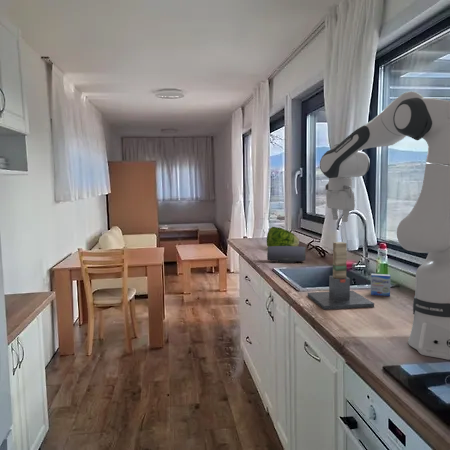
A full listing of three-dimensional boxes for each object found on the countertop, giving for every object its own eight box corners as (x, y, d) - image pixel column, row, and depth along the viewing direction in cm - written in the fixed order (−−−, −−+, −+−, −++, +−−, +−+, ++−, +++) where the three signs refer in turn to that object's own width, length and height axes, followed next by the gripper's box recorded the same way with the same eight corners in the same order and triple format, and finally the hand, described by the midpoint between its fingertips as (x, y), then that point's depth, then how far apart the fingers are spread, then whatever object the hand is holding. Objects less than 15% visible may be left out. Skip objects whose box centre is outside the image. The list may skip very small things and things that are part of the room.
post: (346, 283, 171) (346, 243, 169) (336, 283, 170) (336, 243, 169) (342, 280, 175) (342, 241, 173) (332, 281, 174) (332, 242, 173)
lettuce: (296, 258, 308) (302, 243, 296) (264, 253, 308) (269, 238, 296) (296, 241, 320) (301, 226, 308) (265, 236, 319) (269, 221, 307)
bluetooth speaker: (305, 261, 263) (305, 245, 262) (305, 264, 254) (305, 247, 253) (268, 260, 267) (268, 244, 266) (267, 263, 258) (267, 246, 257)
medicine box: (370, 295, 182) (370, 275, 182) (370, 292, 187) (370, 272, 186) (390, 296, 180) (390, 276, 179) (390, 293, 184) (390, 274, 183)
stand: (374, 307, 165) (374, 281, 164) (324, 309, 162) (324, 283, 161) (352, 293, 184) (352, 271, 184) (307, 296, 182) (307, 273, 181)
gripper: (359, 185, 159) (358, 222, 160) (338, 185, 179) (337, 218, 181) (343, 186, 158) (342, 223, 160) (323, 185, 179) (323, 218, 180)
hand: (340, 220), depth 170 cm, fingers open, 8 cm apart
